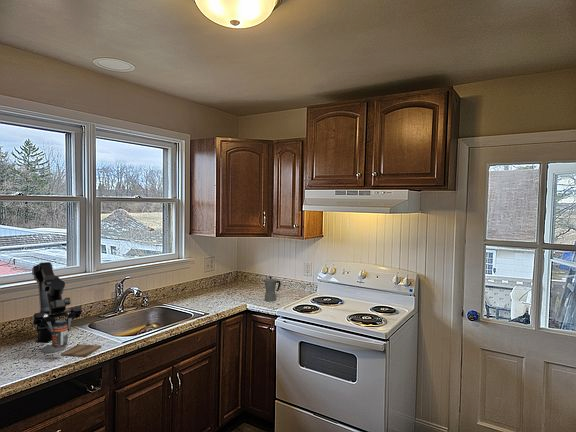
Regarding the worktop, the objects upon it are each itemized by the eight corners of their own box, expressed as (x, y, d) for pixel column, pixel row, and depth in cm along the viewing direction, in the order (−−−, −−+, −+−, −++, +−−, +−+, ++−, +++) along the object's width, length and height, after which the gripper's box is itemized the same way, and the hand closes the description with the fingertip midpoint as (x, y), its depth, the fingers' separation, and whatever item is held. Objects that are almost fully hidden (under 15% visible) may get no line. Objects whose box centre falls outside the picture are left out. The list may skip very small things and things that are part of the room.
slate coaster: (35, 352, 175) (35, 350, 175) (51, 344, 185) (51, 343, 185) (55, 353, 174) (55, 352, 174) (70, 345, 184) (70, 344, 184)
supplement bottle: (48, 347, 165) (48, 321, 165) (60, 342, 171) (60, 318, 170) (59, 349, 163) (59, 323, 163) (70, 344, 169) (71, 319, 169)
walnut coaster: (60, 355, 172) (60, 353, 172) (77, 346, 184) (77, 344, 184) (85, 357, 171) (85, 355, 171) (101, 347, 183) (101, 345, 183)
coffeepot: (259, 300, 279) (259, 276, 279) (266, 297, 288) (266, 274, 287) (277, 303, 272) (277, 278, 272) (283, 300, 280) (283, 276, 280)
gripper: (33, 295, 163) (38, 326, 155) (81, 289, 175) (87, 318, 168) (30, 309, 169) (34, 340, 161) (76, 302, 181) (82, 330, 174)
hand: (60, 331), depth 166 cm, fingers closed on supplement bottle, 6 cm apart
